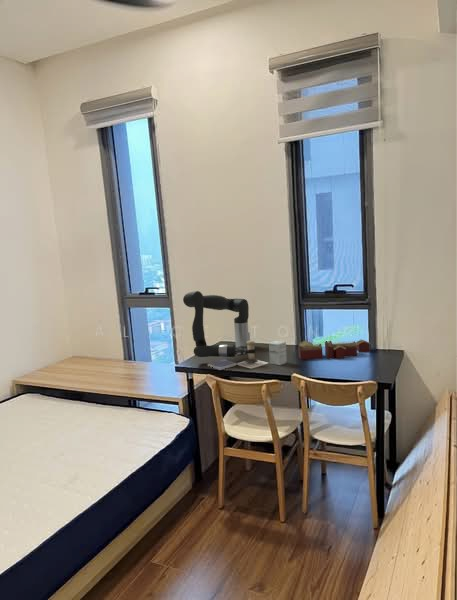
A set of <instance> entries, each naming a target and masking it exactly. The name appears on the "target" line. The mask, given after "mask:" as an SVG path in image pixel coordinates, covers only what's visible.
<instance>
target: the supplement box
mask: <svg viewBox="0 0 457 600" xmlns="http://www.w3.org/2000/svg"><path fill="white" fill-rule="evenodd" d="M268 350H269V351H268V352H269V364H272V365H278V366H282V365H284V364H286V363H287V341H281V340H273V341H271V342H269V343H268Z"/></svg>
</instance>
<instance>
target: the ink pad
mask: <svg viewBox="0 0 457 600" xmlns="http://www.w3.org/2000/svg"><path fill="white" fill-rule="evenodd" d="M236 364H237V363H236V362H233V361H229V360H227V359H220V360H217V361H213V362H210V363H207V367H209V366H210V367H209V368H212V367H213V368H212V369H214V370H218V371H221V370H225V368H226V369H229V368H231V367H235V366H237V365H236Z"/></svg>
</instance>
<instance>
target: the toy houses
mask: <svg viewBox="0 0 457 600" xmlns="http://www.w3.org/2000/svg"><path fill="white" fill-rule="evenodd" d="M370 345H371V343H370V342H369V341H367V340H364V339H359V340H357V341H355V340H354V341H353V340H352V341H347V342H346V341H343V342H341V341H338V342H337V341H336V342H333V341H332V340H326V341H325V342H324V354H325V357H326V358H327V359H336V360H339V359H340V360H341V359H343V360H344V358H345V356H347V357H357V356H358V353H368V352H369V353H370V352H371V346H370ZM297 349H298V351H297V352H298V358H299V359H300V360H301V361H302V360H304V361H305V359H306V360H316V359H317V360H318V359H319V360H320V359H321V360H322V359H324V357H323V345H322V343H312V342H311V341H308V340H306V339H305V340H303V341H301V342H299V343H298V345H297ZM357 350H358V351H359V352H358V351H357Z"/></svg>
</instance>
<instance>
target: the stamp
mask: <svg viewBox="0 0 457 600" xmlns="http://www.w3.org/2000/svg"><path fill="white" fill-rule="evenodd" d="M255 343H256V341H255V340H250V341H247V347H248V348H247V349H249V350H252V349H254V348H255ZM255 354H256V353H249V354H247V358H245V360H244V361H245V362H248V363H255V362H258V360H259V359H258V358H256V357H255V356H256V355H255Z"/></svg>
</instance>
